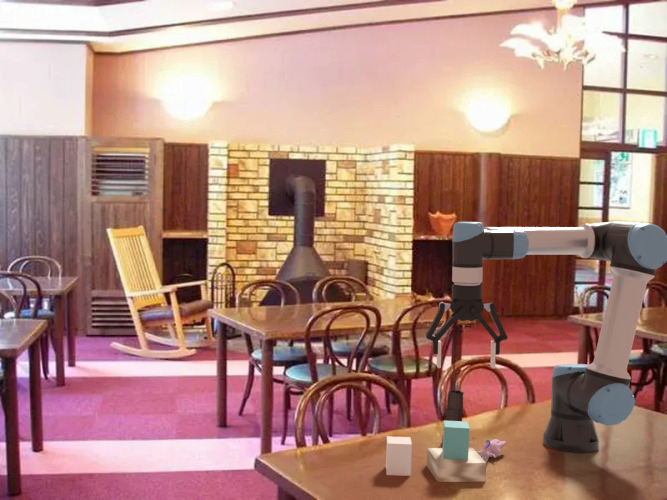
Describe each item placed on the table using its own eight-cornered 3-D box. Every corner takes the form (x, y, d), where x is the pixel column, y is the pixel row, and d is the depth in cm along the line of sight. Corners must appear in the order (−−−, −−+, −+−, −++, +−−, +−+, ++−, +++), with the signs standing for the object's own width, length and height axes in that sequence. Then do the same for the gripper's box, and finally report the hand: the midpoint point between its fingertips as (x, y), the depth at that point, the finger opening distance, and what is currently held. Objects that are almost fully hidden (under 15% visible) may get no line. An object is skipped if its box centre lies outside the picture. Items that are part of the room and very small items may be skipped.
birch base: (471, 466, 216) (472, 447, 216) (485, 482, 204) (486, 462, 204) (426, 467, 215) (427, 448, 214) (437, 483, 203) (438, 463, 202)
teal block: (466, 452, 211) (467, 421, 211) (468, 460, 205) (469, 428, 205) (442, 451, 212) (443, 420, 211) (443, 458, 206) (444, 427, 205)
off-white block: (409, 467, 213) (410, 437, 212) (410, 475, 207) (411, 444, 206) (385, 467, 213) (386, 436, 212) (386, 475, 207) (387, 443, 206)
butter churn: (477, 447, 231) (482, 347, 229) (447, 450, 228) (451, 348, 226) (461, 437, 240) (465, 341, 238) (432, 440, 237) (435, 342, 235)
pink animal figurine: (488, 472, 215) (513, 449, 227) (487, 450, 214) (512, 429, 226) (466, 466, 219) (492, 444, 231) (465, 445, 218) (491, 424, 229)
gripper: (514, 282, 212) (512, 364, 214) (416, 281, 213) (415, 363, 214) (520, 285, 205) (518, 370, 206) (418, 285, 205) (417, 370, 207)
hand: (465, 367), depth 210 cm, fingers open, 13 cm apart
